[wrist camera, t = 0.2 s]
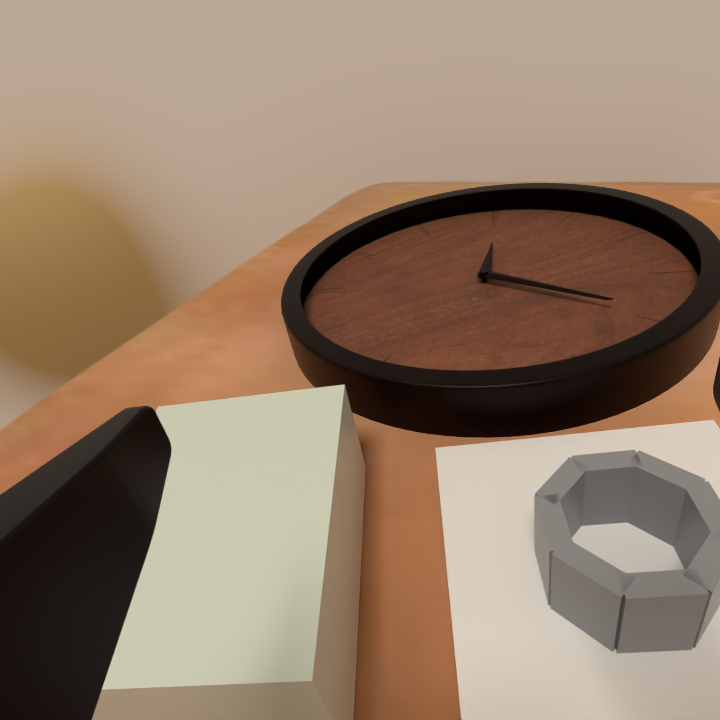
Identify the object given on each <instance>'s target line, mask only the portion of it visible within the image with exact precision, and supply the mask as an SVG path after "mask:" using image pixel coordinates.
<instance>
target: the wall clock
mask: <svg viewBox="0 0 720 720" xmlns="http://www.w3.org/2000/svg"><path fill="white" fill-rule="evenodd" d="M281 308H282V315H283V318H284V322H285V325H286V329H287V332H288V335H289V338H290V341H291V345H292V348H293V351H294V354H295V358H296V360H297V363H298V365H299V367H300V369H301V370H302V372H303V374H304V375H305V377H306V378H307V379H308V380H309V381H310V383H311V384H312V385H313V386H314V387H315V388H319V387H328V386H336V385H344V384H345V388H346V392H347V396H348V399H349V403H350V407H351V411H352V412H353V413H355V414H358V415H360V416H363V417H365V418H367V419H370V420H373V421H376V422H379V423H382V424H385V425H389V426H393V427H397V428H401V429H405V430H410V431H415V432H421V433H427V434H435V435H443V436H456V437H486V438H488V437H512V436H523V435H533V434H540V433H547V432H554V431H559V430H564V429H569V428H574V427H578V426H582V425H586V424H589V423H593V422H597V421H600V420H603V419H606V418H609V417H612V416H615V415H618V414H620V413H623V412H625V411H628V410H630V409H633V408H635V407H637V406H639V405H641V404H644V403H646V402H648V401H650V400H652V399H654V398H655V397H657V396H659V395H660V394H662V393H664V392H665V391H667V390H669V389H670V388H671V387H673V386H674V385H676V384H677V383H678V382H680V381H681V380H682V379H684V378H685V377H686V376H687V375H688V374H689V373H690V372H691V371H693V370H694V368H695V367H696V366H697V365H698V364H699V363H700V362H701V361H702V359H703V358H704V357H705V355H706V354H707V352H708V351H709V349H710V347H711V345H712V343H713V341H714V339H715V336H716V333H717V330H718V326H719V321H720V240H719V239H718V238H717V236H716V235H715V234H714V233H713V232H712V231H711V230H710V229H709V228H708V227H707V226H706V225H704V224H703V223H702V222H701V221H699V220H698V219H696V218H695V217H693V216H692V215H690V214H688V213H686V212H685V211H683V210H681V209H678V208H676V207H674V206H672V205H670V204H667V203H665V202H662V201H659V200H656V199H653V198H650V197H647V196H643V195H640V194H636V193H631V192H627V191H622V190H617V189H611V188H605V187H598V186H589V185H578V184H563V183H521V184H505V185H493V186H484V187H477V188H469V189H463V190H457V191H452V192H446V193H441V194H437V195H432V196H428V197H424V198H420V199H416V200H413V201H409V202H406V203H403V204H399V205H396V206H393V207H390V208H387V209H385V210H382V211H379V212H377V213H374V214H372V215H369V216H367V217H365V218H362V219H360V220H358V221H356V222H354V223H352V224H350V225H348V226H346V227H344V228H342V229H341V230H339V231H337V232H335V233H334V234H332V235H331V236H329V237H327V238H326V239H325V240H323V241H322V242H320V243H319V244H318V245H316V246H315V247H314V248H313V249H312V250H310V251H309V252H308V253H307V254H306V255H305V256H304V257H303V258H302V259H301V260H300V261H299V262H298V264H297V265H296V266H295V267H294V269H293V270H292V272H291V273H290V275H289V277H288V279H287V281H286V283H285V285H284V288H283V292H282V297H281Z"/></svg>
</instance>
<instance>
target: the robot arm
mask: <svg viewBox="0 0 720 720" xmlns="http://www.w3.org/2000/svg"><path fill="white" fill-rule="evenodd" d="M713 393H714V399H715V402H716V404H717V407H718V409H719V411H720V358H719V363H718V367H717V372H716V376H715V381H714V386H713ZM171 451H172V448H171V443H170V440H169V437H168V436H167V434H166V432H165V430H164V428H163V426H162V424H161V422H160V420H159V418H158V416H157V414H156V412H155V411H154V409H152V408H151V407H149V406H139V407H130V408H126V409H124V410H122V411H121V412H120V413H118V414H117V415H115V416H114V417H112V418H111V419H109V420H108V421H107V422H105V423H104V424H102V425H101V426H99V427H98V428H96V429H95V430H94V431H92V432H91V433H89V434H88V435H86V436H85V437H83V438H82V439H80V440H79V441H78V442H76V443H75V444H73V445H72V446H70V447H69V448H67V449H66V450H65V451H63V452H62V453H60V454H59V455H57V456H56V457H54V458H53V459H52V460H50V461H49V462H47V463H46V464H44V465H43V466H41V467H40V468H38V469H37V470H36V471H34V472H33V473H31V474H30V475H28V476H27V477H25V478H24V479H23V480H21V481H20V482H18V483H17V484H15V485H14V486H12V487H11V488H10V489H8V490H7V491H5V492H4V493H2V494H1V495H0V720H92V718H93V715H94V712H95V709H96V706H97V703H98V700H99V697H100V694H101V691H102V688H103V685H104V682H105V679H106V676H107V673H108V670H109V667H110V664H111V661H112V658H113V655H114V652H115V649H116V646H117V643H118V640H119V637H120V634H121V631H122V628H123V625H124V622H125V619H126V616H127V613H128V610H129V607H130V604H131V601H132V598H133V595H134V592H135V589H136V586H137V583H138V580H139V577H140V574H141V571H142V568H143V565H144V562H145V559H146V556H147V553H148V550H149V547H150V544H151V541H152V537H153V534H154V530H155V526H156V522H157V518H158V514H159V509H160V504H161V500H162V495H163V491H164V486H165V481H166V477H167V472H168V468H169V463H170V458H171Z"/></svg>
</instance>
